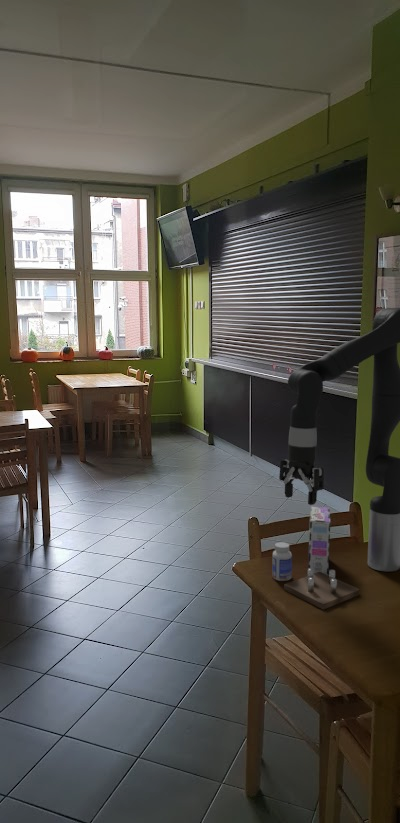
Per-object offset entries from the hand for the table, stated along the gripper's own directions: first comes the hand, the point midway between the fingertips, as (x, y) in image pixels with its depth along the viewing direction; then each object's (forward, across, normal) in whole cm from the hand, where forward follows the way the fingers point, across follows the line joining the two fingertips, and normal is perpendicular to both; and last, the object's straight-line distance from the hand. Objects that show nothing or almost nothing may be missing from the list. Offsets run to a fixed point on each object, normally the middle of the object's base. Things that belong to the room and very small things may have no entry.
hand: (299, 500), depth 166 cm
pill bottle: (+23, +3, +3) cm, 23 cm away
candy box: (+23, +2, -11) cm, 25 cm away
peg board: (+23, -10, +1) cm, 25 cm away
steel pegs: (+21, -10, +1) cm, 23 cm away
